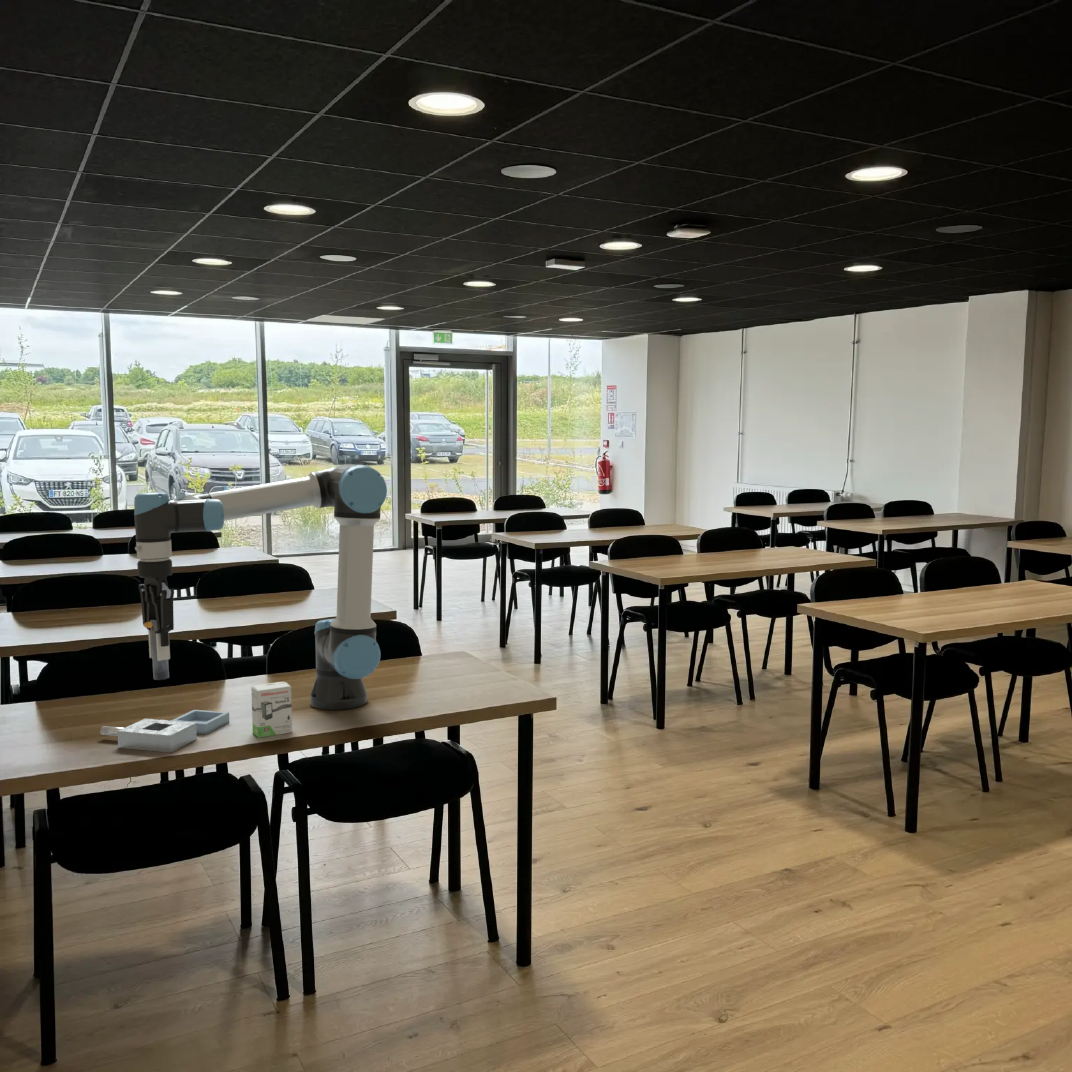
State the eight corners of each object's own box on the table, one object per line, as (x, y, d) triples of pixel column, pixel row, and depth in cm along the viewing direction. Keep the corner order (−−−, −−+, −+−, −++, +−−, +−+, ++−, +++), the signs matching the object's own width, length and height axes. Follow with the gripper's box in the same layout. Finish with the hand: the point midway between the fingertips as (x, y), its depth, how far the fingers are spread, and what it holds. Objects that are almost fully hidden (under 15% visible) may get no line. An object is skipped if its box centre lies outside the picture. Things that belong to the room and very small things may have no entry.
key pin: (172, 674, 228) (169, 616, 226) (177, 677, 225) (174, 618, 223) (145, 678, 224) (141, 620, 222) (149, 681, 221) (146, 622, 219)
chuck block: (196, 739, 228) (196, 722, 227) (170, 752, 218) (170, 735, 218) (117, 732, 233) (116, 716, 233) (88, 744, 223) (87, 728, 223)
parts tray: (229, 722, 241) (229, 712, 241) (206, 734, 231) (206, 724, 231) (194, 719, 244) (194, 709, 243) (170, 730, 234) (170, 721, 234)
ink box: (258, 738, 228) (256, 690, 227) (252, 733, 232) (250, 685, 231) (293, 732, 233) (291, 685, 232) (286, 727, 237) (285, 680, 236)
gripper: (123, 557, 224) (128, 655, 227) (154, 564, 213) (160, 666, 215) (154, 554, 229) (159, 650, 232) (186, 560, 218) (191, 660, 221)
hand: (159, 658), depth 224 cm, fingers closed on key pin, 3 cm apart
